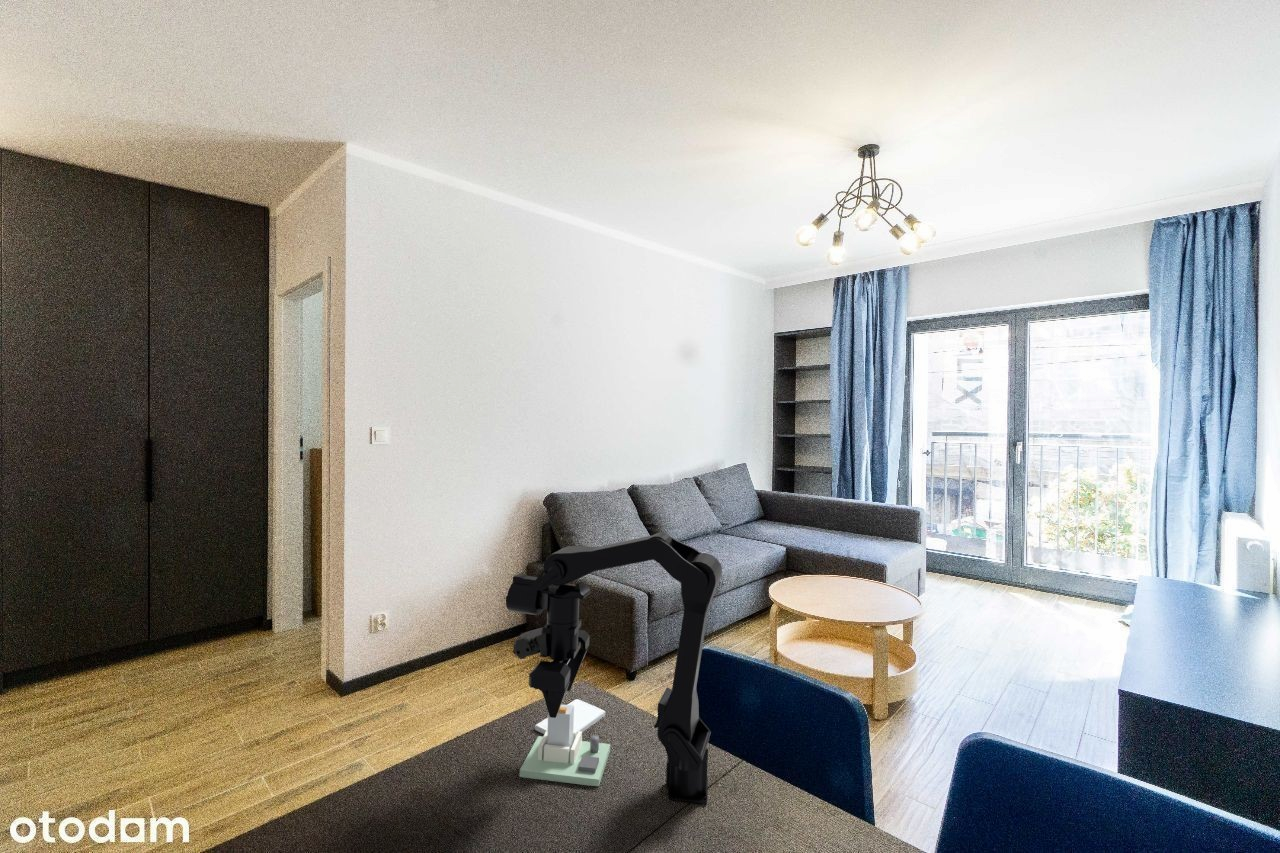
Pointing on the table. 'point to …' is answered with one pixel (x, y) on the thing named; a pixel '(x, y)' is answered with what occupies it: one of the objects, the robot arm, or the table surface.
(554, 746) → the board
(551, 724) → the plug
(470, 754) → the table surface
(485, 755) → the table surface
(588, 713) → the external hard drive
